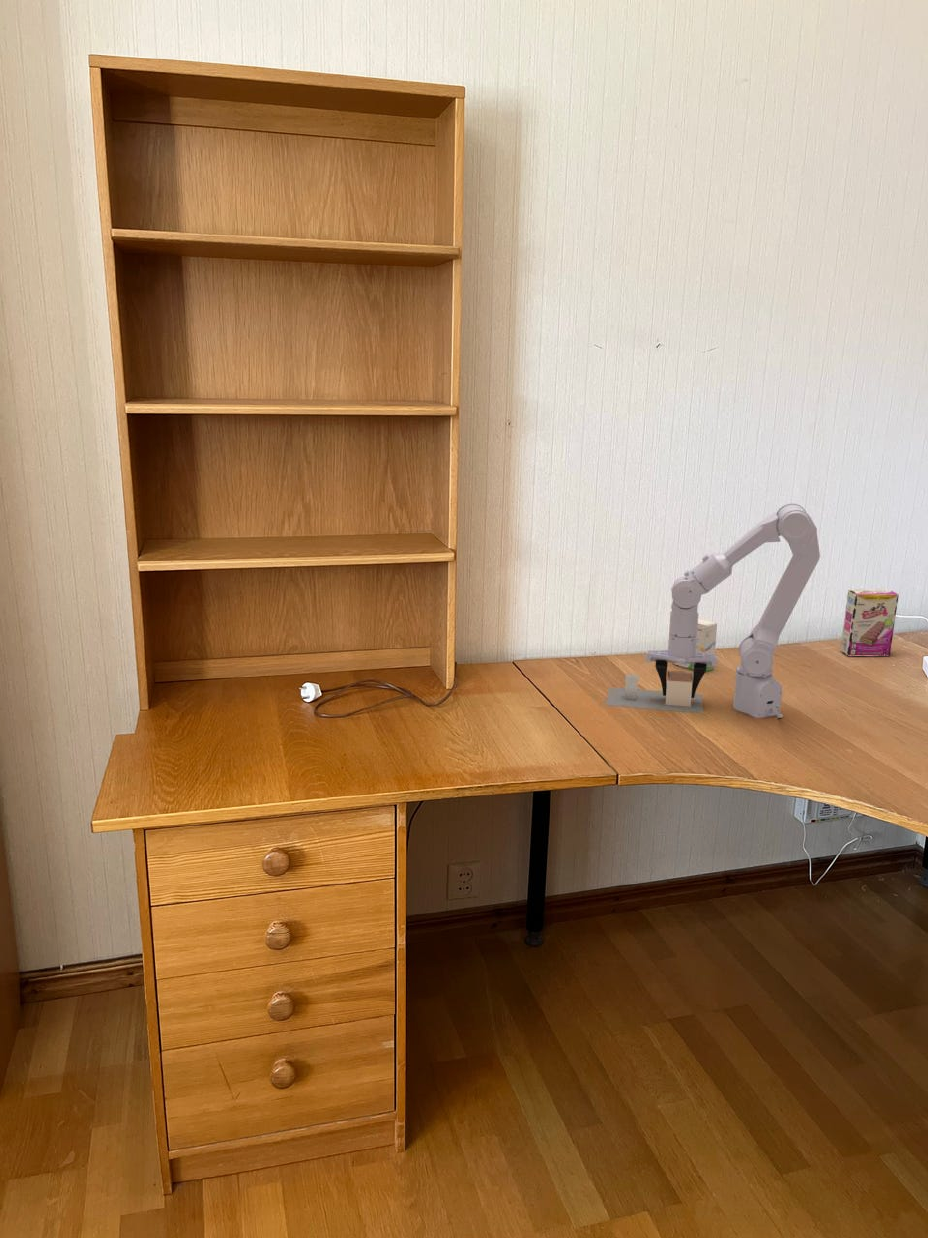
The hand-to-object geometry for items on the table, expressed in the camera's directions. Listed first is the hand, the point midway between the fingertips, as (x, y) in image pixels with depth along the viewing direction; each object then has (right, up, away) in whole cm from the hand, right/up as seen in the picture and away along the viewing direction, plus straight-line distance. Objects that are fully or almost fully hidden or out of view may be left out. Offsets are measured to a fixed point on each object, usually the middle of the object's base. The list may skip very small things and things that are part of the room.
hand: (678, 695), depth 206 cm
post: (-10, -2, +3) cm, 10 cm away
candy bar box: (+56, +7, +39) cm, 68 cm away
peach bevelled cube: (0, -1, 0) cm, 1 cm away
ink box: (+10, +4, +27) cm, 29 cm away
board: (-5, -2, +2) cm, 6 cm away
